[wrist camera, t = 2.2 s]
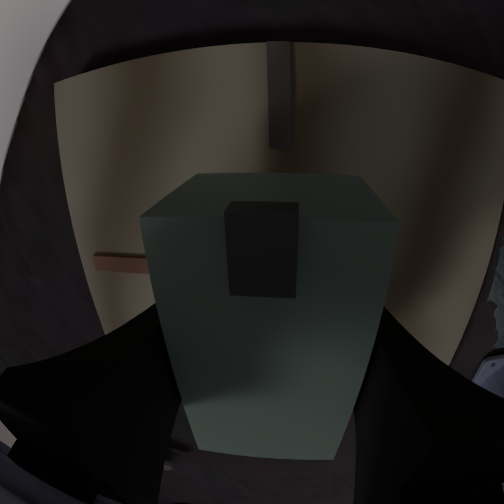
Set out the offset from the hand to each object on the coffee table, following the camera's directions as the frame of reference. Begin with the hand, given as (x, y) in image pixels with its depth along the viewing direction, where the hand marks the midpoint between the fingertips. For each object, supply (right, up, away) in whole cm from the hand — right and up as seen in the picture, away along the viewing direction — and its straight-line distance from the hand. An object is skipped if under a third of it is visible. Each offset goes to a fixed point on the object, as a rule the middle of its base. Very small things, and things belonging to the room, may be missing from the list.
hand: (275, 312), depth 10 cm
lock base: (+1, +2, +4) cm, 4 cm away
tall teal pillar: (0, 0, +1) cm, 1 cm away
